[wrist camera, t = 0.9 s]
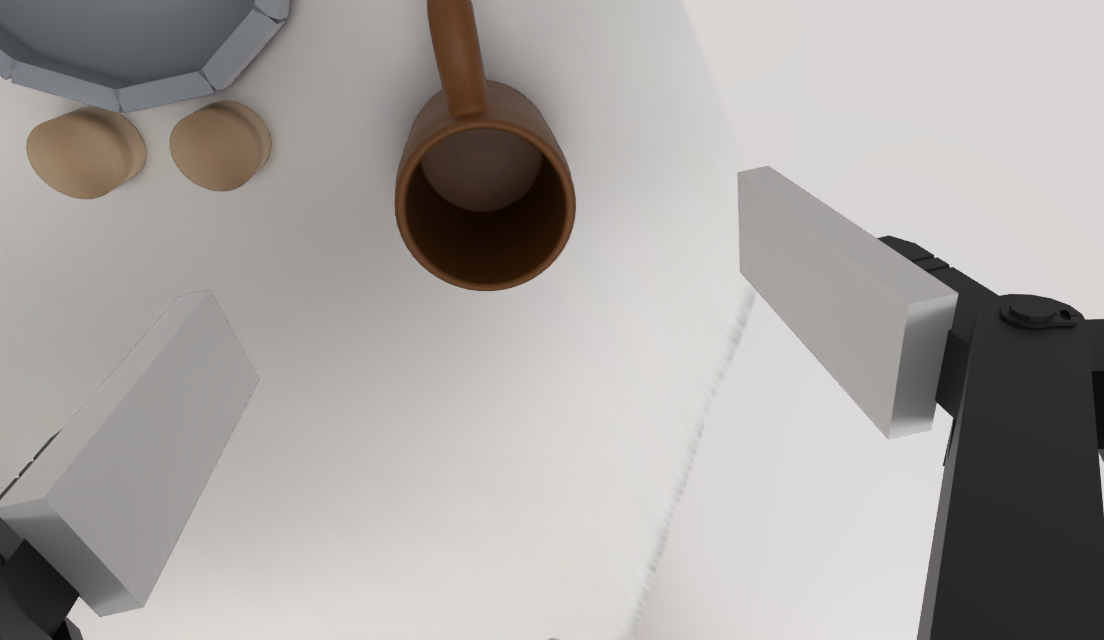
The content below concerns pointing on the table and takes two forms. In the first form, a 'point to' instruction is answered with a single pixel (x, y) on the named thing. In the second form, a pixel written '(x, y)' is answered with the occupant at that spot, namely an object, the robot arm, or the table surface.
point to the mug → (480, 172)
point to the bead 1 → (86, 152)
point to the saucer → (133, 47)
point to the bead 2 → (220, 145)
